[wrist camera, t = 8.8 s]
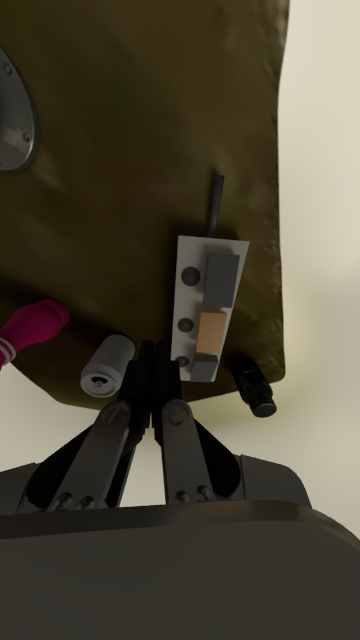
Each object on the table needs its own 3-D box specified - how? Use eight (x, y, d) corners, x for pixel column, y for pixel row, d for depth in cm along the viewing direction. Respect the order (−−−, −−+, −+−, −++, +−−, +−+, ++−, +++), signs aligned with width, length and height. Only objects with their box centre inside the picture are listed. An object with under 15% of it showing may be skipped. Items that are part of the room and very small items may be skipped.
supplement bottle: (245, 353, 40) (270, 395, 29) (261, 366, 42) (289, 409, 31) (225, 368, 42) (241, 412, 31) (240, 379, 44) (260, 424, 34)
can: (136, 334, 37) (119, 374, 26) (135, 359, 40) (119, 402, 29) (103, 330, 36) (72, 369, 25) (105, 355, 39) (78, 398, 29)
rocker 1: (207, 254, 25) (209, 252, 23) (235, 256, 25) (240, 255, 23) (201, 304, 27) (203, 306, 25) (228, 306, 27) (232, 308, 25)
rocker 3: (194, 353, 32) (195, 361, 30) (216, 355, 32) (218, 362, 31) (189, 374, 37) (190, 381, 36) (209, 374, 37) (210, 382, 36)
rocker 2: (199, 309, 29) (201, 312, 27) (224, 310, 29) (227, 313, 27) (195, 347, 31) (196, 352, 30) (217, 348, 32) (219, 353, 30)
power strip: (182, 175, 23) (183, 162, 19) (253, 182, 24) (269, 171, 20) (170, 367, 42) (169, 381, 37) (211, 369, 42) (214, 383, 38)
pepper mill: (54, 331, 36) (-67, 422, 18) (28, 304, 33) (-148, 382, 15) (79, 320, 35) (-23, 407, 17) (56, 291, 31) (-100, 359, 14)
